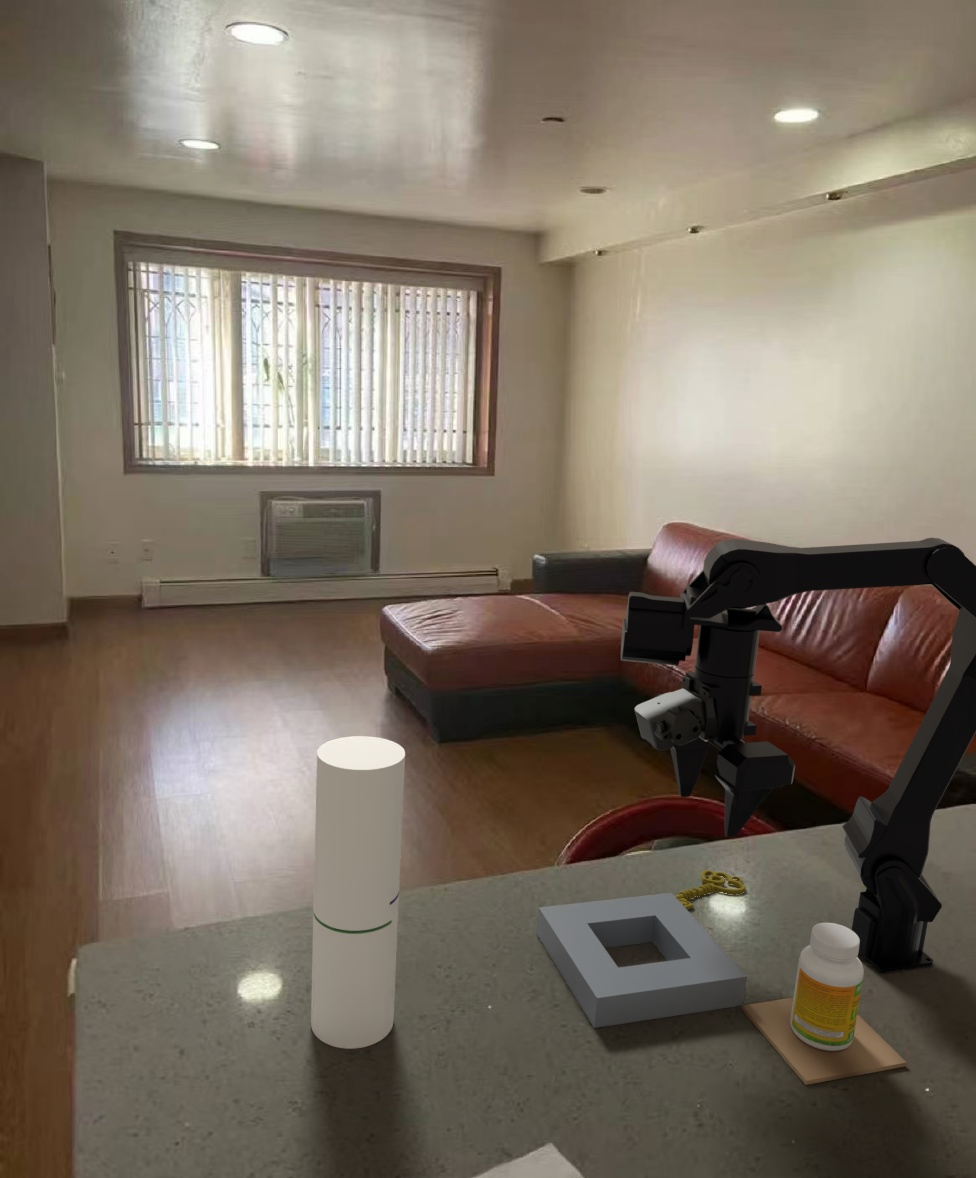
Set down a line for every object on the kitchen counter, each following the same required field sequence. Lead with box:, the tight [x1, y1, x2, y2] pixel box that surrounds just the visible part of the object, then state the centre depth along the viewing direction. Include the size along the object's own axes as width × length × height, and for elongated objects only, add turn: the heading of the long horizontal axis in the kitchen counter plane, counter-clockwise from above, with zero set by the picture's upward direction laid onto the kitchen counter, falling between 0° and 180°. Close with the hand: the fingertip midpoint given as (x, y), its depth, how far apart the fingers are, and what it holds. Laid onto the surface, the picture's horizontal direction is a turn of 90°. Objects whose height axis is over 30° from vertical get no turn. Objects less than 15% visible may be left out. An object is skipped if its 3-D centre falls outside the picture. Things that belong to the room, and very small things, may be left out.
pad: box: [741, 997, 907, 1086], centre depth 87 cm, size 10×10×1 cm
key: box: [674, 869, 747, 911], centre depth 111 cm, size 12×1×5 cm
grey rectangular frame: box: [536, 892, 748, 1029], centre depth 96 cm, size 15×15×3 cm
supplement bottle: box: [790, 922, 865, 1051], centre depth 86 cm, size 5×5×10 cm
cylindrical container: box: [310, 735, 406, 1050], centre depth 83 cm, size 7×7×25 cm
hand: (706, 815), depth 100 cm, fingers open, 9 cm apart
